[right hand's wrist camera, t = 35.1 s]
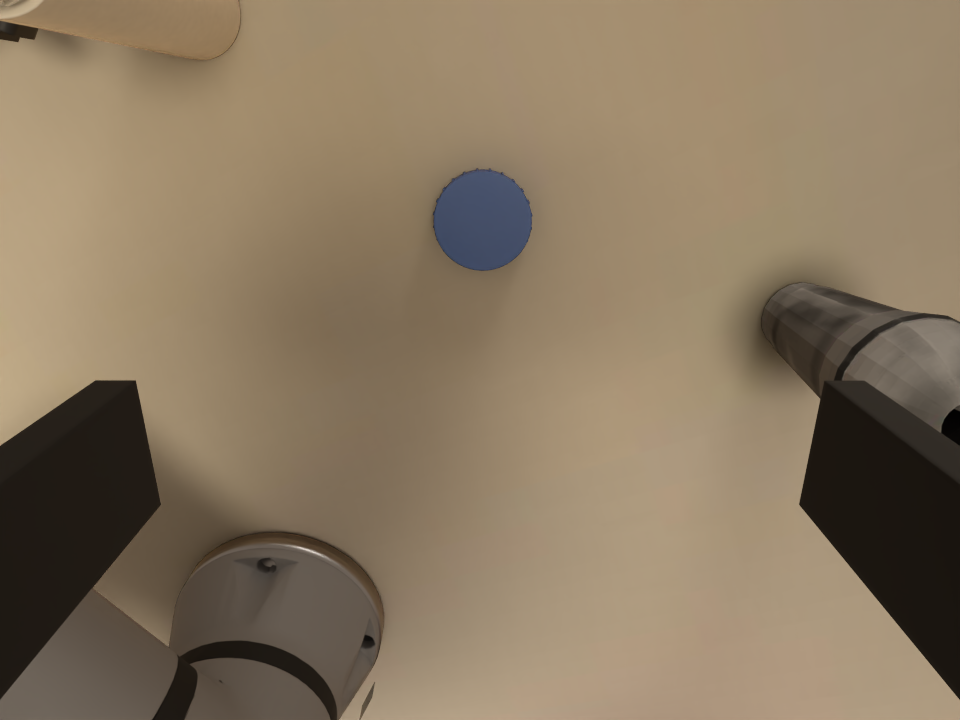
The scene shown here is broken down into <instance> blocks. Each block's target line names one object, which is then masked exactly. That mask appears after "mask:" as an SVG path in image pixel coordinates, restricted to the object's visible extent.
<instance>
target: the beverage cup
mask: <svg viewBox="0 0 960 720" xmlns="http://www.w3.org/2000/svg"><path fill="white" fill-rule="evenodd" d="M762 330H763V332H764V334H765V337H766V338H767V339H768V340H769V341H770V343H771V344H772V345H773V348H774V349H775V350H776V351H777V352H778V353H779V354H780V355H781V356H782V358H783V359H784V360H785V361H786V362H787V363H788V364H789V365H790V366H791V367H792V368H793V370H794V371H795V372H796V373H797V374H798V375H799V376H800V377H801V378H802V379H803V380H804V381H805V383H806V384H807V385H808V386H809V387H810V388H811V389H812V390H813V391H814V392H815V393H816V395H817V396H818V397H819V398H820V399H821V394H822V390H823V385H824V381H866V382H867V383H869V384H870V385H872V386H873V387H875V388H876V389H878V390H879V391H880V392H882V393H883V394H885V395H886V396H888V397H889V398H891V399H892V400H894V401H895V402H896V403H898V404H899V405H901V406H902V407H904V408H905V409H907V410H908V411H910V412H911V413H912V414H914V415H915V416H917V417H918V418H920V419H921V420H923V421H924V422H926V423H927V424H929V425H930V426H931V427H933V428H934V429H936V430H937V431H939V432H940V433H942V434H943V435H945V436H946V437H947V438H949V439H950V440H952V441H953V442H955V443H956V444H958V445H959V446H960V322H959V321H957V320H955V319H953V318H951V317H949V316H945V315H936V314H927V313H918V312H909V311H902V310H899V309H896V308H893V307H889V306H886V305H883V304H880V303H877V302H873V301H870V300H867V299H864V298H861V297H857V296H854V295H851V294H848V293H845V292H841V291H838V290H835V289H832V288H829V287H823V286H816V285H814V284H810V283H797V284H791V285H789V286H787V287H785V288H783V289H781V290H779V291H778V292H777V293H776V294H775V295H774V296H773V297H771V299H770V300H769V302H768V303H767V305H766V306H765V308H764V312H763V315H762Z"/></svg>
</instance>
